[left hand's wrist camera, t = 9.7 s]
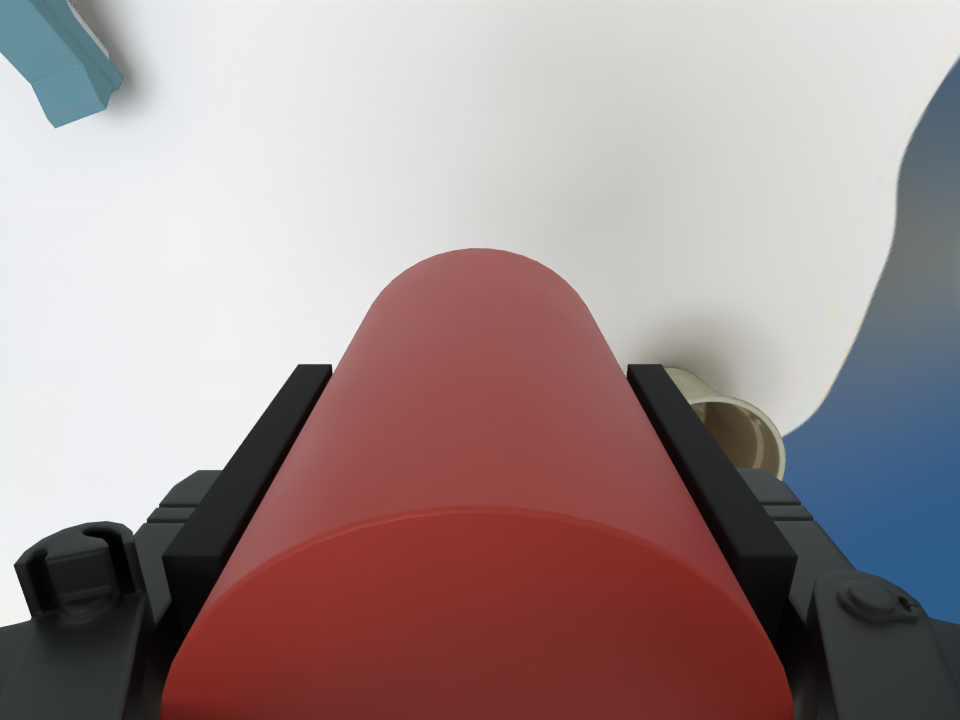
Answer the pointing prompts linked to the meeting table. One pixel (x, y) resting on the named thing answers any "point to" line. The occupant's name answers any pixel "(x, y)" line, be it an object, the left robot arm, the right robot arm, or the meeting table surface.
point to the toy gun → (57, 58)
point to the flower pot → (734, 425)
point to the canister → (477, 535)
